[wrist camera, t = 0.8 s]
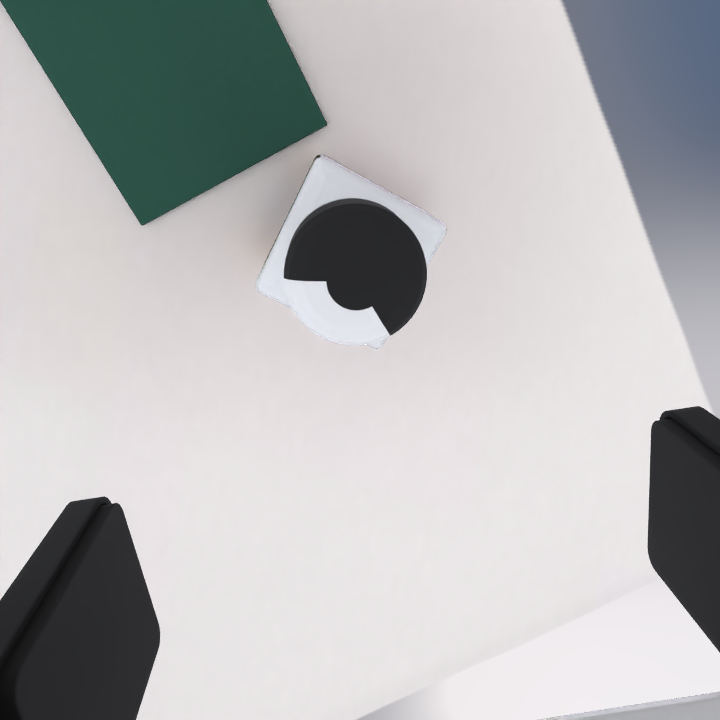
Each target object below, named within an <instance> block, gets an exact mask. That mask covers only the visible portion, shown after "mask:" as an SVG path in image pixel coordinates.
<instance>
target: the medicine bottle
mask: <svg viewBox="0 0 720 720" xmlns="http://www.w3.org/2000/svg"><path fill="white" fill-rule="evenodd" d="M446 230H447V229H446V225H445V224H444V223H442V222H441V221H439V220H438V219H436V218H435V217H433V216H431V215H430V214H428V213H427V212H425V211H424V210H422V209H420V208H419V207H417V206H415V205H413V204H411V203H409V202H408V201H406V200H404V199H402V198H400V197H398V196H397V195H395V194H393V193H391V192H389V191H388V190H386V189H384V188H382V187H380V186H378V185H377V184H375V183H373V182H371V181H369V180H368V179H366V178H364V177H362V176H360V175H358V174H357V173H355V172H353V171H351V170H349V169H347V168H346V167H344V166H342V165H340V164H338V163H337V162H335V161H333V160H331V159H329V158H327V157H326V156H324V155H318V156H316V157H315V159H314V161H313V163H312V165H311V167H310V169H309V171H308V173H307V175H306V178H305V180H304V182H303V184H302V186H301V188H300V190H299V192H298V194H297V196H296V199H295V201H294V203H293V205H292V207H291V209H290V211H289V213H288V215H287V217H286V219H285V222H284V224H283V226H282V228H281V230H280V232H279V234H278V236H277V238H276V240H275V242H274V245H273V247H272V249H271V251H270V253H269V255H268V257H267V259H266V261H265V264H264V266H263V268H262V271H261V273H260V275H259V277H258V280H257V282H256V286H255V287H256V289H257V291H258V292H259V293H261V294H263V295H265V296H267V297H270V298H272V299H274V300H276V301H278V302H280V303H282V304H284V305H286V306H288V307H290V308H292V309H293V311H294V312H295V314H296V316H297V317H298V318H299V319H300V321H301V322H302V323H303V324H304V325H305V326H306V327H307V328H308V329H310V330H311V331H312V332H314V333H315V334H317V335H318V336H320V337H322V338H324V339H326V340H329V341H332V342H335V343H339V344H344V345H365V344H367V345H369V346H371V347H373V348H377V349H378V348H381V347H382V346H383V344H384V342H385V340H386V339H387V337H389V336H391V335H392V334H394V333H395V332H397V331H398V330H400V329H401V328H402V327H403V326H404V325H405V324H406V323H407V322H408V321H409V320H410V319H411V318H412V316H413V315H414V313H415V312H416V310H417V309H418V307H419V305H420V303H421V301H422V298H423V295H424V292H425V287H426V281H427V265H428V264H429V262H430V260H431V258H432V257H433V255H434V253H435V251H436V249H437V248H438V246H439V244H440V242H441V240H442V239H443V237H444V235H445V233H446Z"/></svg>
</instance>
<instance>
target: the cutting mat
mask: <svg viewBox="0 0 720 720" xmlns="http://www.w3.org/2000/svg"><path fill="white" fill-rule="evenodd" d="M0 1H1V3H2V4H3V6H4V8H5V9H6V11H7V12H8V14H9V16H10V17H11V19H12V20H13V22H14V24H15V25H16V27H17V28H18V30H19V31H20V33H21V35H22V36H23V38H24V39H25V41H26V43H27V44H28V46H29V47H30V49H31V51H32V52H33V54H34V55H35V57H36V59H37V60H38V62H39V63H40V65H41V66H42V68H43V70H44V71H45V73H46V74H47V76H48V78H49V79H50V81H51V82H52V84H53V86H54V87H55V89H56V90H57V92H58V93H59V95H60V97H61V98H62V100H63V101H64V103H65V105H66V106H67V108H68V109H69V111H70V113H71V114H72V116H73V117H74V119H75V120H76V122H77V124H78V125H79V127H80V128H81V130H82V132H83V133H84V135H85V136H86V138H87V140H88V141H89V143H90V144H91V146H92V148H93V149H94V151H95V152H96V154H97V155H98V157H99V159H100V160H101V162H102V163H103V165H104V167H105V168H106V170H107V171H108V173H109V175H110V176H111V178H112V179H113V181H114V182H115V184H116V186H117V187H118V189H119V190H120V192H121V194H122V195H123V197H124V198H125V200H126V202H127V203H128V205H129V206H130V208H131V210H132V211H133V213H134V214H135V216H136V217H137V219H138V221H139V222H140V224H141V225H144V224H146V223H148V222H150V221H152V220H153V219H155V218H157V217H159V216H161V215H163V214H164V213H166V212H168V211H170V210H172V209H174V208H175V207H177V206H179V205H181V204H183V203H185V202H186V201H188V200H190V199H192V198H194V197H196V196H197V195H199V194H201V193H203V192H205V191H207V190H209V189H210V188H212V187H214V186H216V185H218V184H220V183H221V182H223V181H225V180H227V179H229V178H231V177H232V176H234V175H236V174H238V173H240V172H242V171H243V170H245V169H247V168H249V167H251V166H253V165H254V164H256V163H258V162H260V161H262V160H264V159H265V158H267V157H269V156H271V155H273V154H275V153H276V152H278V151H280V150H282V149H284V148H286V147H288V146H289V145H291V144H293V143H295V142H297V141H299V140H300V139H302V138H304V137H306V136H308V135H310V134H311V133H313V132H315V131H317V130H319V129H321V128H322V127H324V126H326V125H327V123H326V121H325V119H324V117H323V115H322V113H321V111H320V109H319V107H318V105H317V102H316V100H315V98H314V96H313V94H312V92H311V90H310V88H309V86H308V84H307V82H306V80H305V78H304V76H303V74H302V72H301V70H300V68H299V66H298V64H297V62H296V59H295V57H294V55H293V53H292V51H291V49H290V47H289V45H288V43H287V41H286V39H285V37H284V35H283V33H282V31H281V29H280V27H279V25H278V23H277V21H276V19H275V16H274V14H273V12H272V10H271V8H270V6H269V4H268V2H267V0H0Z"/></svg>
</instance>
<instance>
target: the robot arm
mask: <svg viewBox="0 0 720 720" xmlns="http://www.w3.org/2000/svg"><path fill="white" fill-rule="evenodd" d="M648 554H649V558H650V561H651V564H652V566H653V568H654V569H655V571H656V572H657V573H658V575H659V576H660V577H661V579H662V580H663V581H664V582H665V584H666V585H667V586H668V587H669V589H670V590H671V591H672V592H673V594H674V595H675V596H676V597H677V599H678V600H679V601H680V603H681V604H682V605H683V606H684V608H685V609H686V610H687V611H688V613H689V614H690V615H691V617H692V618H693V619H694V620H695V622H696V623H697V624H698V625H699V627H700V628H701V629H702V630H703V632H704V633H705V634H706V635H707V637H708V638H709V639H710V641H711V642H712V643H713V644H714V646H715V647H716V648H717V649H718V651H719V652H720V419H718V418H717V417H715V416H714V415H712V414H711V413H710V412H708V411H707V410H705V409H704V408H702V407H699V406H697V407H689V408H683V409H676V410H670V411H665V412H663V413H662V415H661V417H660V420H659V421H655V422H654V423H653V425H652V429H651V455H650V488H649V520H648ZM159 644H160V628H159V624H158V620H157V617H156V614H155V611H154V608H153V604H152V601H151V598H150V595H149V592H148V588H147V585H146V582H145V579H144V576H143V573H142V569H141V566H140V563H139V560H138V557H137V554H136V550H135V547H134V544H133V541H132V538H131V535H130V531H129V528H128V525H127V522H126V519H125V516H124V512H123V510H122V507H121V506H120V505H119V504H118V503H114V504H111V502H110V500H109V499H108V498H106V497H99V498H92V499H85V500H79V501H73V502H70V503H69V504H68V505H67V506H66V507H65V509H64V510H63V512H62V513H61V514H60V516H59V517H58V519H57V520H56V522H55V523H54V524H53V526H52V527H51V529H50V530H49V532H48V533H47V534H46V536H45V537H44V539H43V540H42V542H41V543H40V544H39V546H38V547H37V549H36V550H35V552H34V553H33V554H32V556H31V557H30V559H29V560H28V562H27V563H26V564H25V566H24V567H23V569H22V570H21V572H20V573H19V574H18V576H17V577H16V579H15V580H14V582H13V583H12V584H11V586H10V587H9V589H8V590H7V592H6V593H5V594H4V596H3V597H2V599H1V600H0V720H136V717H137V714H138V711H139V708H140V705H141V702H142V699H143V695H144V692H145V689H146V686H147V683H148V680H149V677H150V674H151V670H152V667H153V664H154V661H155V658H156V655H157V652H158V648H159ZM539 720H720V692H716V693H709V694H702V695H695V696H689V697H682V698H676V699H670V700H663V701H656V702H650V703H644V704H637V705H630V706H623V707H617V708H610V709H604V710H598V711H591V712H584V713H578V714H571V715H565V716H558V717H552V718H546V719H539Z"/></svg>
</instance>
